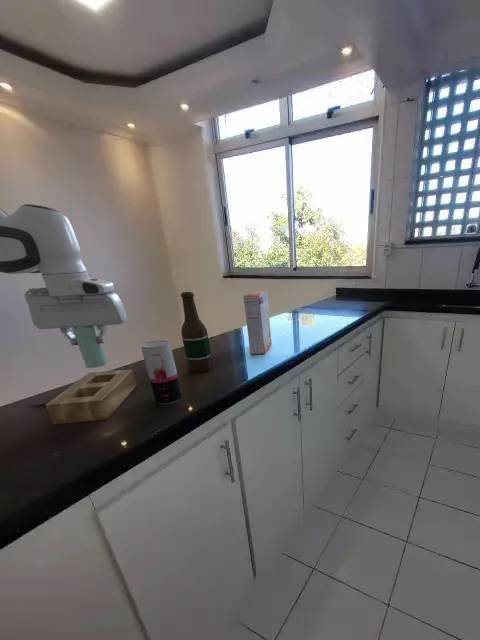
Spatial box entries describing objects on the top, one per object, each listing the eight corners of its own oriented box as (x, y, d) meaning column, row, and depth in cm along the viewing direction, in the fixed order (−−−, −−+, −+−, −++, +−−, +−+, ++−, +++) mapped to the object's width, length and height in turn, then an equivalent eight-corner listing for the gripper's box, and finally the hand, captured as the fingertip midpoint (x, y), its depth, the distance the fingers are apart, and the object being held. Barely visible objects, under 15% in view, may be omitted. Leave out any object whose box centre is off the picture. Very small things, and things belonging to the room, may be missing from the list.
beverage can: (171, 406, 78) (157, 348, 71) (150, 403, 79) (134, 347, 73) (187, 395, 83) (175, 340, 77) (167, 393, 85) (153, 339, 78)
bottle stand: (53, 424, 71) (45, 405, 69) (94, 388, 90) (88, 372, 88) (107, 419, 73) (100, 400, 70) (136, 385, 91) (132, 369, 89)
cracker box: (257, 343, 126) (252, 289, 117) (272, 343, 126) (268, 289, 116) (249, 354, 114) (242, 295, 104) (265, 354, 113) (260, 294, 104)
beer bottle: (218, 367, 102) (206, 291, 92) (200, 375, 97) (184, 294, 86) (202, 363, 106) (188, 290, 96) (183, 371, 100) (167, 293, 90)
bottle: (82, 368, 79) (60, 308, 72) (91, 362, 83) (70, 304, 76) (102, 367, 79) (82, 306, 73) (110, 361, 84) (91, 303, 77)
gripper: (12, 290, 69) (38, 350, 75) (109, 285, 71) (126, 344, 77) (30, 287, 74) (53, 343, 80) (120, 282, 76) (135, 337, 83)
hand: (89, 343), depth 79 cm, fingers closed on bottle, 5 cm apart
